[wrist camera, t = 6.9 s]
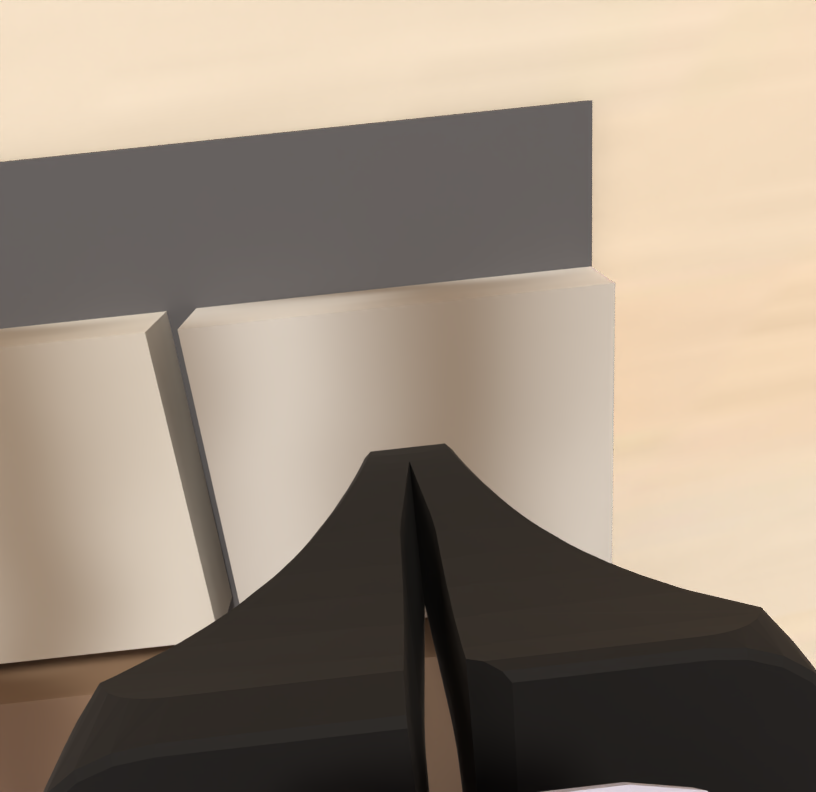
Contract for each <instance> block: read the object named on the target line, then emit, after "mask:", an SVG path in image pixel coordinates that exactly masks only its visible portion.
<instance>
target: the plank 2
mask: <svg viewBox="0 0 816 792" xmlns="http://www.w3.org/2000/svg"><path fill="white" fill-rule="evenodd" d="M177 330H178V334H179V338H180V343H181V347H182V352H183V356H184V361H185V365H186V369H187V374H188V378H189V383H190V387H191V391H192V396H193V400H194V405H195V409H196V414H197V418H198V422H199V427H200V431H201V436H202V440H203V444H204V449H205V453H206V458H207V462H208V467H209V471H210V475H211V480H212V484H213V489H214V493H215V498H216V502H217V506H218V511H219V515H220V520H221V524H222V528H223V533H224V537H225V542H226V546H227V551H228V555H229V559H230V564H231V568H232V573H233V577H234V581H235V586H236V590H237V595H238V599H239V604H240V603H241V602H243V601H244V600H245V599H246V598H248V597H249V596H250V595H251V594H253V593H254V592H255V591H256V590H258V589H259V588H260V587H261V586H263V585H264V584H265V583H267V582H268V581H269V580H270V579H272V578H273V577H274V576H275V575H276V574H277V573H279V572H280V571H281V570H282V569H283V568H284V567H285V566H286V565H287V564H288V563H289V562H290V561H291V560H292V559H293V558H294V557H295V556H296V555H297V554H298V553H299V552H300V551H301V550H302V549H303V548H304V547H305V546H306V544H307V543H308V542H309V541H310V540H311V538H312V537H313V536H314V535H315V533H316V532H317V531H318V530H319V528H320V527H321V526H322V525H323V523H324V522H325V521H326V520H327V518H328V517H329V516H330V514H331V513H332V512H333V510H334V509H335V507H336V506H337V504H338V503H339V501H340V500H341V498H342V497H343V495H344V494H345V492H346V491H347V489H348V488H349V486H350V484H351V483H352V481H353V479H354V478H355V476H356V474H357V472H358V470H359V469H360V467H361V465H362V463H363V460H364V458H365V457H366V456H367V455H368V454H369V453H370V452H371V451H380V450H389V449H398V448H407V447H416V446H425V445H434V444H443V443H445V444H446V445H448V446H449V447H450V448H451V449H452V450H453V451H454V452H455V453H456V455H457V456H458V457H459V458H460V459H461V460H462V461H463V463H464V464H465V465H466V466H467V467H468V468H469V469H470V470H471V471H472V472H473V473H474V474H475V475H476V476H477V477H478V478H479V479H480V480H481V481H482V482H483V483H484V484H486V485H487V486H488V487H489V488H490V489H491V490H492V491H493V492H494V493H496V494H497V495H498V496H499V497H500V498H501V499H502V500H504V501H505V502H506V503H507V504H508V505H510V506H511V507H512V508H513V509H515V510H516V511H517V512H519V513H520V514H522V515H523V516H524V517H526V518H527V519H529V520H530V521H532V522H533V523H535V524H536V525H538V526H539V527H541V528H543V529H544V530H546V531H548V532H549V533H551V534H553V535H555V536H556V537H558V538H560V539H561V540H563V541H565V542H567V543H569V544H570V545H572V546H574V547H576V548H578V549H580V550H582V551H584V552H587V553H589V554H591V555H593V556H596V557H598V558H600V559H602V560H604V561H607V562H609V563H611V564H612V510H613V426H614V343H615V282H613V281H612V280H610V279H609V278H608V277H606V276H605V275H603V274H602V273H601V272H599V271H598V270H596V269H595V268H594V267H592V266H589V267H580V268H570V269H561V270H551V271H542V272H533V273H523V274H514V275H504V276H495V277H486V278H476V279H467V280H457V281H448V282H438V283H429V284H420V285H410V286H401V287H391V288H382V289H373V290H363V291H354V292H344V293H335V294H325V295H316V296H307V297H297V298H288V299H278V300H269V301H259V302H250V303H241V304H231V305H222V306H212V307H203V308H196V309H195V310H194V311H193V313H192V314H191V315H190V316H189V317H188V318H187V319H186V320H185V322H184V323H183V324H182V325H181V326H180V327H179V328H178V329H177ZM426 617H427V612H426V608H425V618H426Z"/></svg>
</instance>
